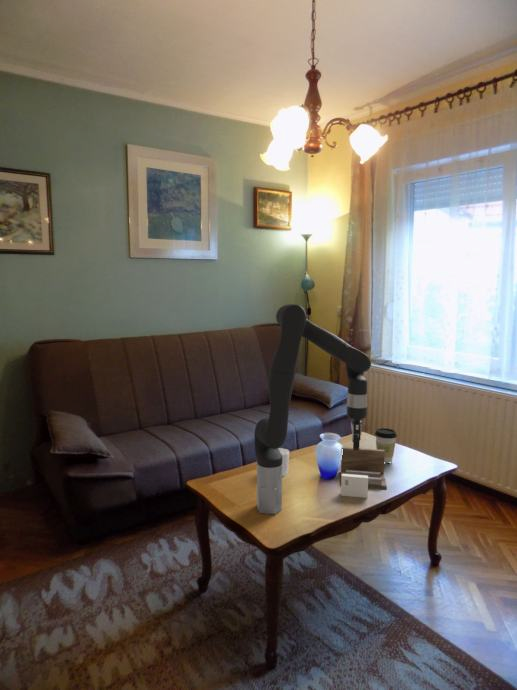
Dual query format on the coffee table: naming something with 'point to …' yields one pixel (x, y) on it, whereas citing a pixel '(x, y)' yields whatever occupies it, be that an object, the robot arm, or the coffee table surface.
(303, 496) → the coffee table surface
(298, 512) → the coffee table surface
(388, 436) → the coffee cup
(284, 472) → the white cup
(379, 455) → the base
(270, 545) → the coffee table surface
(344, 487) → the white thin panel
